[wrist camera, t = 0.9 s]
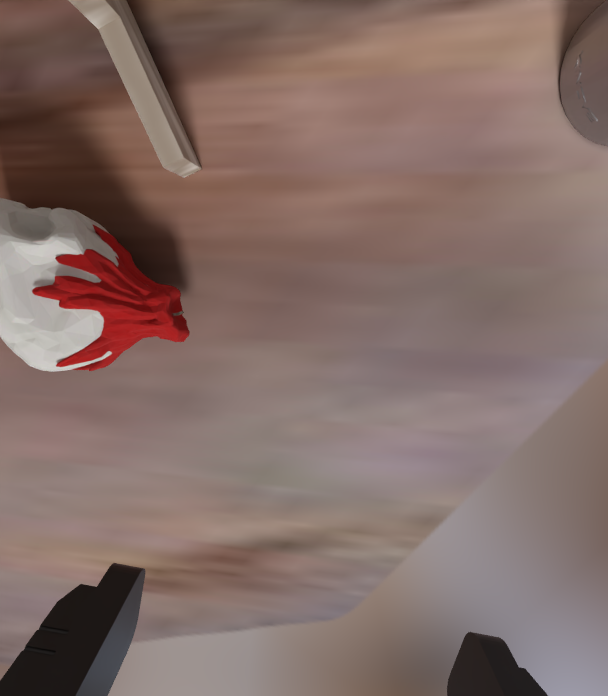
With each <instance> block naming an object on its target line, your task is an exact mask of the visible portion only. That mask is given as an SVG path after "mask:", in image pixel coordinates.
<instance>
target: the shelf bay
mask: <svg viewBox="0 0 608 696" xmlns="http://www.w3.org/2000/svg"><path fill="white" fill-rule="evenodd" d="M69 1H70V2H71V3H72V4H73V5H74V6H75V7H76V8H77V9H78V10H79V11H80V12H81V13H82V14H83V15H84V16H85V17H86V18H87V19H88V20H89V21H90V22H91V23H92V24H93V25H95V26H96V27H97V28H98V30H99V32H100V34H101V36H102V38H103V40H104V42H105V45H106V47H107V49H108V51H109V53H110V55H111V57H112V60H113V62H114V64H115V66H116V68H117V70H118V72H119V74H120V77H121V79H122V81H123V83H124V85H125V87H126V89H127V92H128V94H129V96H130V98H131V100H132V102H133V104H134V106H135V109H136V111H137V113H138V115H139V117H140V119H141V121H142V123H143V126H144V128H145V130H146V132H147V134H148V136H149V138H150V141H151V143H152V145H153V147H154V149H155V151H156V153H157V155H158V158H159V160H160V162H161V164H162V166H163V168H165V169H167V170H169V171H171V172H173V173H175V174H177V175H179V176H181V177H183V178H185V177H187V176H189V175H191V174H193V173H195V172H197V171H199V170H201V169H202V168H201V166H200V164H199V161H198V159H197V157H196V155H195V152H194V150H193V148H192V146H191V144H190V141H189V139H188V137H187V135H186V132H185V130H184V128H183V126H182V123H181V121H180V119H179V117H178V114H177V112H176V110H175V108H174V106H173V103H172V101H171V99H170V97H169V94H168V92H167V90H166V88H165V85H164V83H163V81H162V79H161V76H160V74H159V72H158V70H157V67H156V65H155V63H154V61H153V59H152V56H151V54H150V52H149V50H148V47H147V45H146V43H145V41H144V38H143V36H142V34H141V32H140V29H139V27H138V25H137V23H136V21H135V18H134V16H133V14H132V12H131V9H130V7H129V5H128V3H127V0H69Z"/></svg>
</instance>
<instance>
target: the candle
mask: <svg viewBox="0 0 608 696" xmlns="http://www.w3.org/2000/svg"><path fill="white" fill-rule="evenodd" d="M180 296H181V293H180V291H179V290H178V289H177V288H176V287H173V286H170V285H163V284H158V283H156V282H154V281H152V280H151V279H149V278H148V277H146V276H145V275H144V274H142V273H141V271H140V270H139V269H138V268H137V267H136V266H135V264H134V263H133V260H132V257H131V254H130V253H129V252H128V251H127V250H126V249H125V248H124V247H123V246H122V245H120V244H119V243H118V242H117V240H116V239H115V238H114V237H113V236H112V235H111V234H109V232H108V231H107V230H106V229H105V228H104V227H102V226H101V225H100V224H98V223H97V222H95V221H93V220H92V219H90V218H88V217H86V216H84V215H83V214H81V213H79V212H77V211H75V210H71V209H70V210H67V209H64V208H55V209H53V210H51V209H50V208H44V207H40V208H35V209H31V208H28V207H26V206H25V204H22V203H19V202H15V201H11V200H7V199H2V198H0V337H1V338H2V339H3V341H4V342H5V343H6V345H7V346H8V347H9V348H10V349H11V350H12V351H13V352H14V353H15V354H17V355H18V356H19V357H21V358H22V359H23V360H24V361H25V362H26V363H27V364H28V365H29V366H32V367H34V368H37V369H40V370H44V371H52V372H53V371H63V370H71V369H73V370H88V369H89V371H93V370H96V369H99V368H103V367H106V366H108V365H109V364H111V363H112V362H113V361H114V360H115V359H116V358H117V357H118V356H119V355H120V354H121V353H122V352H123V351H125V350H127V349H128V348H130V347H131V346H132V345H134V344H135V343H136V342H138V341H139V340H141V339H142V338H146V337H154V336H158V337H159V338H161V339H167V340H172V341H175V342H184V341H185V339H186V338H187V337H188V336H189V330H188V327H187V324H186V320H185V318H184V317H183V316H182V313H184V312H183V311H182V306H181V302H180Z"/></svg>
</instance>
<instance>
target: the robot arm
mask: <svg viewBox="0 0 608 696" xmlns="http://www.w3.org/2000/svg"><path fill="white" fill-rule="evenodd" d="M560 93H561V101H562V105H563V107H564V110H565V113H566V116H567V117H568V119H569V121H570V122H571V124H572V125H573V127H574V128H575V129H576V130H577V131H578V132H579V133H580V134H581V135H582V136H584V137H585V138H587V139H589V140H591V141H593V142H594V143H597V144H601V145H605V146H608V0H606V1H605V2H604V3H602V4H601V5H600V6H599V7H598V8H597V9H595V10H594V11H593V12H592V14H591V15H590V16H589V17H588V18H587V19H586V20H585V21H584V22H583V23H582V25H581V26H580V27H579V29H578V30H577V32H576V33H575V35H574V36H573V38H572V40H571V42H570V44H569V47H568V49H567V51H566V53H565V57H564V61H563V64H562V68H561V76H560ZM144 578H145V569H143V568H138V567H132V566H127V565H122V564H117V563H113V564H112V565H111V566H110V567H109V569H108V570H107V572H106V573H105V575H104V577H103V578H102V580H101V581H100V583H99V584H98V586H97V587H94V586H89V585H83V584H80V585H79V586H78V587H76V588H75V589H74V590H72V591H71V592H70V593H68V594H67V595H66V596H64V597H63V598H62V599H60V600H59V601H58V602H57V603H56V605H55V606H54V607H53V609H52V610H51V611H50V613H49V614H48V616H47V617H46V618H45V620H44V621H43V622H42V624H41V625H40V628H39V630H37V631H36V632H35V634H34V635H33V636H32V638H31V639H30V640H29V642H28V643H27V645H26V647H25V649H24V651H22V652H21V653H20V654H19V656H18V657H17V658H16V660H15V661H14V663H13V664H12V665H11V667H10V668H9V669H8V671H7V672H6V674H5V675H4V676H3V678H2V679H1V681H0V696H107V695H108V693H109V691H110V689H111V687H112V685H113V682H114V680H115V678H116V676H117V674H118V671H119V669H120V667H121V664H122V662H123V660H124V658H125V656H126V654H127V651H128V649H129V646H130V644H131V641H132V638H133V635H134V632H135V629H136V625H137V621H138V615H139V609H140V603H141V597H142V590H143V584H144ZM447 695H448V696H547V694H546V693H545V691H544V690H543V689H542V688H541V687H540V686H539V685H538V683H537V682H536V681H535V680H534V679H533V677H532V676H531V675H530V674H529V673H528V672H527V670H526V669H524V668H519V667H518V665H517V663H516V661H515V659H514V658H513V656H512V654H511V652H510V650H509V648H508V646H507V644H506V643H505V642H504V641H503V640H502V639H501V638H499V637H493V636H488V635H482V634H477V633H472V632H469V633H467V634H466V636H465V638H464V640H463V643H462V645H461V648H460V650H459V653H458V655H457V658H456V661H455V663H454V666H453V668H452V671H451V673H450V677H449V679H448V686H447Z"/></svg>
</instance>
